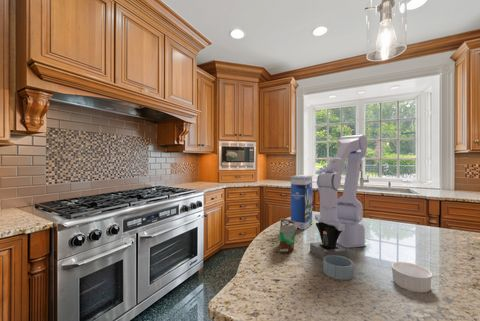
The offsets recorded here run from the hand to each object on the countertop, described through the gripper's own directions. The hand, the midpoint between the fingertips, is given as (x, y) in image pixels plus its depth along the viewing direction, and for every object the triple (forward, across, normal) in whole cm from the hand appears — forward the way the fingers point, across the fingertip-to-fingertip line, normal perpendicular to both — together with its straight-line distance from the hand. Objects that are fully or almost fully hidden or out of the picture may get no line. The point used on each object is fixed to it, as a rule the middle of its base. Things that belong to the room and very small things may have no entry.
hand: (328, 245), depth 80 cm
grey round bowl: (+3, +12, -5) cm, 13 cm away
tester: (+3, 0, 0) cm, 3 cm away
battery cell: (+3, 0, 0) cm, 3 cm away
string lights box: (+4, -36, +9) cm, 37 cm away
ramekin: (+4, +22, +10) cm, 24 cm away
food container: (+4, -8, -11) cm, 14 cm away
